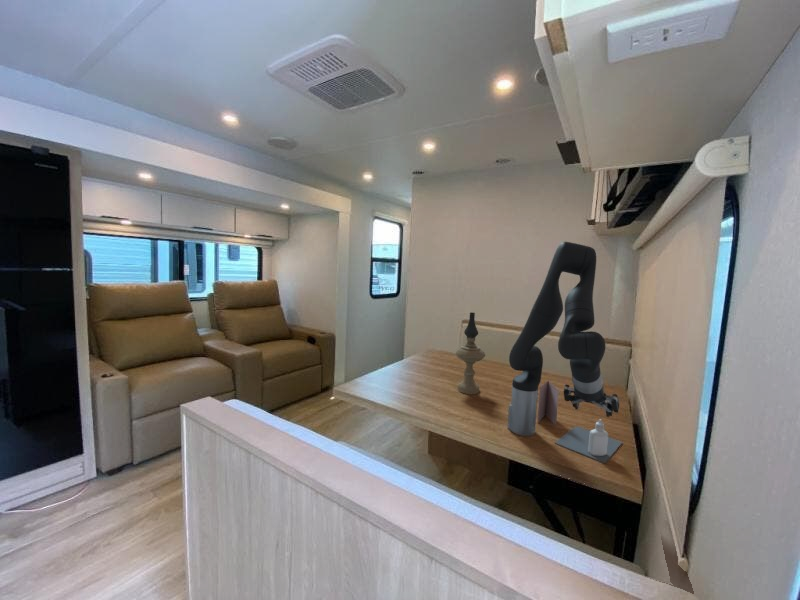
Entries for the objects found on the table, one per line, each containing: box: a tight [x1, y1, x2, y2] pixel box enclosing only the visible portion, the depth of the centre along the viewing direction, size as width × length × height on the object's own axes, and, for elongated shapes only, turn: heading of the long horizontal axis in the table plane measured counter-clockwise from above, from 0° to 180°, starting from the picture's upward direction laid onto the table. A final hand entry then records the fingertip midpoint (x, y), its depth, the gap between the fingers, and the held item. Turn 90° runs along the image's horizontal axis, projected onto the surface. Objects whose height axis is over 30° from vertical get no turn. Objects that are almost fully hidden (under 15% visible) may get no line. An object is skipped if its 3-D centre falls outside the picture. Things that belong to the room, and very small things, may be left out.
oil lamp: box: [454, 311, 486, 395], centre depth 168 cm, size 15×15×40 cm
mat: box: [554, 425, 623, 464], centre depth 120 cm, size 16×20×1 cm
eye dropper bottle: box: [588, 418, 609, 456], centre depth 112 cm, size 4×6×12 cm
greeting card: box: [537, 380, 560, 427], centre depth 137 cm, size 11×7×15 cm, turn 141°
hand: (592, 410), depth 104 cm, fingers open, 8 cm apart
